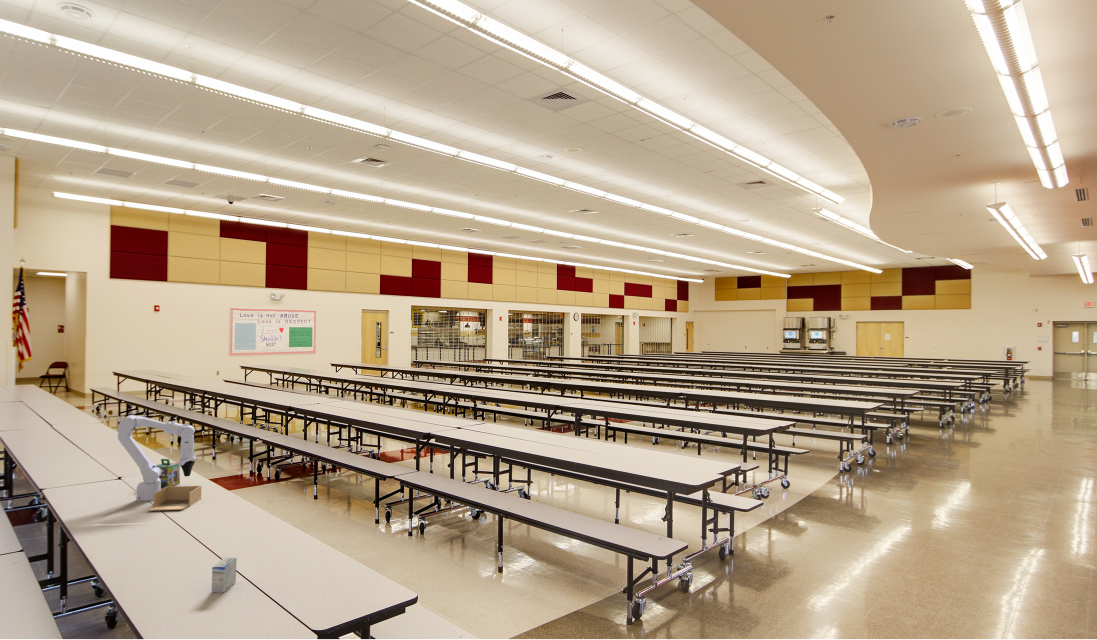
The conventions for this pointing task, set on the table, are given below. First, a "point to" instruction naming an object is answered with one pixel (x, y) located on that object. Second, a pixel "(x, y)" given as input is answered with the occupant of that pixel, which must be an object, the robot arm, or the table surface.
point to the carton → (177, 495)
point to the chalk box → (169, 473)
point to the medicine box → (223, 575)
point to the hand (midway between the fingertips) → (187, 475)
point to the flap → (168, 508)
